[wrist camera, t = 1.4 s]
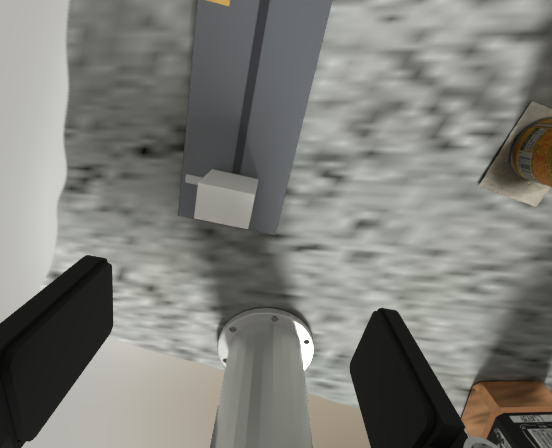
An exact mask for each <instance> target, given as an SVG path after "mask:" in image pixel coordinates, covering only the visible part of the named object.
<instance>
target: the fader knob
mask: <svg viewBox="0 0 552 448" xmlns="http://www.w3.org/2000/svg"><path fill="white" fill-rule="evenodd" d="M258 180H259V179H255V178H251V177H246V176H242V175H237V174H232V173H228V172H223V171H219V170H214V169H212V170H211V171H210V172H209V173H207V174H206V175H205V176H204V177H203V178H202V179H201V180H200V181H199V182H198V188H197V197H196V205H195V214H194V219H199V220H204V221H209V222H214V223H219V224H224V225H229V226H234V227H239V228H244V229H248V227H249V223H250V218H251V214H252V210H253V205H254V200H255V195H256V190H257V185H258Z"/></svg>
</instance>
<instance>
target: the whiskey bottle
mask: <svg viewBox="0 0 552 448" xmlns="http://www.w3.org/2000/svg"><path fill="white" fill-rule="evenodd" d="M461 420H462V422H463V423H464V425H465V431H466V432H467V434H468V436H469V437H471V436H473V437H481V438H484V439H486V440H488V441H490V442H492V443H493V444H495V445H497V446H498V447H499V448H552V392H551V391H550V390H549V389H548V388H547V387H546V385H545V384H544V383H542V382H541V381H497V382H479V383H478V384H476V385H474V386H473V387H472V390H471V393H470V395H469V398H468V401H467V404H466V407H465V409H464V412H463V415H462V418H461Z"/></svg>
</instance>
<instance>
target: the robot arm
mask: <svg viewBox="0 0 552 448" xmlns="http://www.w3.org/2000/svg"><path fill="white" fill-rule="evenodd" d="M112 327H113V289H112V265H111V264H109V263H108V262H107V259H105V258H101V257H95V256H90V255H86V256H84V257H83V258H82V259H80V260H79V261H78V262H77V263H75V264H74V265H73V266H72V267H70V268H69V269H68V270H67V271H65V272H64V273H63V274H62V275H60V276H59V277H58V278H57V279H55V280H54V281H53V282H52V283H50V284H49V285H48V286H47V287H45V288H44V289H43V290H42V291H40V292H39V293H38V294H37V295H35V296H34V297H33V298H32V299H30V300H29V301H28V302H27V303H25V304H24V305H23V306H22V307H20V308H19V309H18V310H17V311H15V312H14V313H13V314H11V315H10V316H9V317H8V318H7V319H5V320H4V321H3V322H1V323H0V448H21V447H22V446H23V444H24V443H25V442H26V441H31V440H33V439H34V438H35V437H36V436H37V434H38V433H39V432H40V430H41V428H42V427H43V426H44V425H45V423H46V422H47V420H48V419H49V418H50V416H51V415H52V414H53V412H54V411H55V409H56V408H57V406H58V405H59V404H60V402H61V401H62V400H63V398H64V397H65V396H66V394H67V393H68V391H69V390H70V389H71V387H72V386H73V384H74V383H75V382H76V380H77V379H78V377H79V376H80V375H81V373H82V372H83V371H84V369H85V368H86V366H87V365H88V363H89V362H90V361H91V359H92V358H93V357H94V355H95V354H96V352H97V351H98V350H99V348H100V347H101V345H102V344H103V343H104V341H105V340H106V339H107V337H108V336H109V334H110V332H111V330H112ZM217 348H218V355H219V358H220V360H221V362H222V364H223V365H224V367H225V372H224V377H223V382H222V388H221V393H220V398H219V403H218V409H217V413H216V418H215V424H214V429H213V434H212V439H211V444H210V448H313V446H312V437H311V428H310V418H309V409H308V402H307V401H308V400H307V391H306V382H305V373H304V370H305V369H306V368H307V366H308V365H309V364H310V362H311V360H312V357H313V353H314V344H313V339H312V335H311V333H310V330H309V329H308V327H307V326H306V325H305V323H303V322H302V321H301V320H300V319H299V318H297V317H296V316H294V315H292V314H290V313H288V312H285V311H283V310H278V309H273V308H259V309H252V310H248V311H245V312H243V313H240V314H238V315H236V316H235V317H233V318H232V319H231V320H230V321H229V322H228V323H227V324H226V325H225V326H224V328H223V329H222V331H221V333H220V336H219V340H218V346H217ZM350 374H351V377H352V381H353V384H354V388H355V392H356V395H357V399H358V403H359V406H360V410H361V413H362V417H363V420H364V424H365V428H366V431H367V434H368V439H369V442H370V446H371V448H499V447H498V446H497V445H495V444H493V443H492V442H490V441H488V440H486V439H484V438H481V437H473V436H471V437H469V438H468V436H467V434H466V433H465V431H464V429H465V425H464V423H463V422H462V420H461V418H460V417H459V415H458V413H457V412H456V410H455V408H454V406H453V405H452V403H451V401H450V400H449V398H448V396H447V394H446V393H445V391H444V389H443V388H442V386H441V384H440V383H439V381H438V379H437V377H436V376H435V374H434V372H433V371H432V369H431V367H430V366H429V364H428V362H427V360H426V359H425V357H424V355H423V354H422V352H421V350H420V348H419V347H418V345H417V343H416V342H415V340H414V338H413V337H412V335H411V333H410V331H409V330H408V328H407V326H406V325H405V323H404V321H403V320H402V318H401V316H400V314H399V313H398V312H397V311H396V310H391V309H385V308H379V309H378V311H374V312H373V314H372V316H371V318H370V320H369V322H368V324H367V327H366V329H365V331H364V333H363V336H362V338H361V340H360V342H359V344H358V347H357V349H356V351H355V353H354V355H353V358H352V360H351V362H350Z"/></svg>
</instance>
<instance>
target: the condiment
mask: <svg viewBox="0 0 552 448" xmlns="http://www.w3.org/2000/svg"><path fill="white" fill-rule="evenodd" d="M505 160H507V161H506V162H505ZM531 181H532V183H530V184H528V183H529V182H531ZM479 186H480V187H483V188H486V189H489V190H491V191H494V192H497V193H500V194H502V195H505V196H508V197H511V198H513V199H516V200H519V201H521V202H524V203H527V204H530V205H532V206H535V207H536V206H537V205H538V203H539V202H540V201H541V200H542V198H543V197H544V195H545V194H546V193H547V192H548V191H549V189H550V187H552V109H550V108H548V107H546V106H543V105H541V104H539V103H536V102H534V101H532V102H531V103H530V105H529V106H528V108H527V109H526V111H525V112H524V114H523V115H522V117H521V118H520V120H519V121H518V123H517V125H516V126H515V128H514V129H513V131H512V132H511V134H510V135H509V138H508V139H507V140H506V142H505V144H504V146H503V147H502V149H501V151H500V153H499V155H498V156H497V157H496V159H495V160H494V162H493V163H492V165H491V166H490V168H489V170H488V171H487V173H486V175H485V177H484V179H483V180H482V181H481V183H480V185H479Z"/></svg>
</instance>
